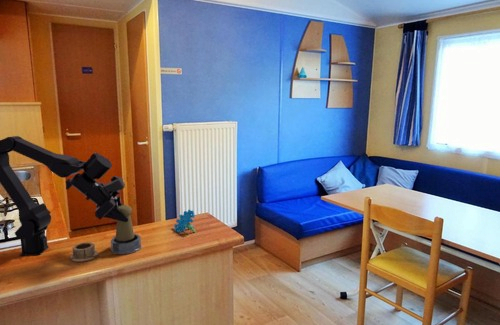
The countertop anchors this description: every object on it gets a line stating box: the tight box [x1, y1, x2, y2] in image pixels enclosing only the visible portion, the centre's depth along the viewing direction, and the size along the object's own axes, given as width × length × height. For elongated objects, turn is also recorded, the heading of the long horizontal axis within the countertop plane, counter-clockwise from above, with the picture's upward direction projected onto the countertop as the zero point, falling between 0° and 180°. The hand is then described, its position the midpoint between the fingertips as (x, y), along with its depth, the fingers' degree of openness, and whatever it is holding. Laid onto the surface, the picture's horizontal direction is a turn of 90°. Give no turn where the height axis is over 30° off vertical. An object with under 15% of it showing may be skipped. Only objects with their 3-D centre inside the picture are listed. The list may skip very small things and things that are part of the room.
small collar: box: [70, 241, 99, 263], centre depth 112 cm, size 8×8×4 cm
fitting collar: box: [110, 233, 142, 256], centre depth 119 cm, size 10×10×4 cm
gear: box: [173, 209, 197, 233], centre depth 136 cm, size 11×6×10 cm
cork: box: [115, 204, 135, 241], centre depth 117 cm, size 6×6×11 cm
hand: (128, 218), depth 118 cm, fingers closed on cork, 5 cm apart
